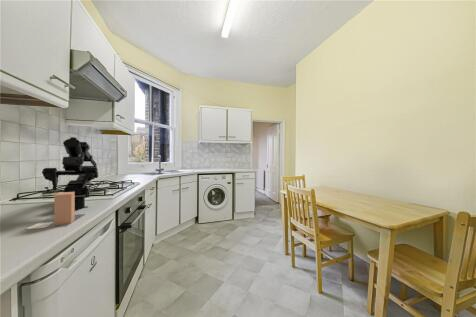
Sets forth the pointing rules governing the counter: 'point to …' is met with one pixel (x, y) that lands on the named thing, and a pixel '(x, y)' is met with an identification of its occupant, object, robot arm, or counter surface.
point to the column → (64, 208)
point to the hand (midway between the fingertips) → (68, 188)
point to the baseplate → (51, 223)
